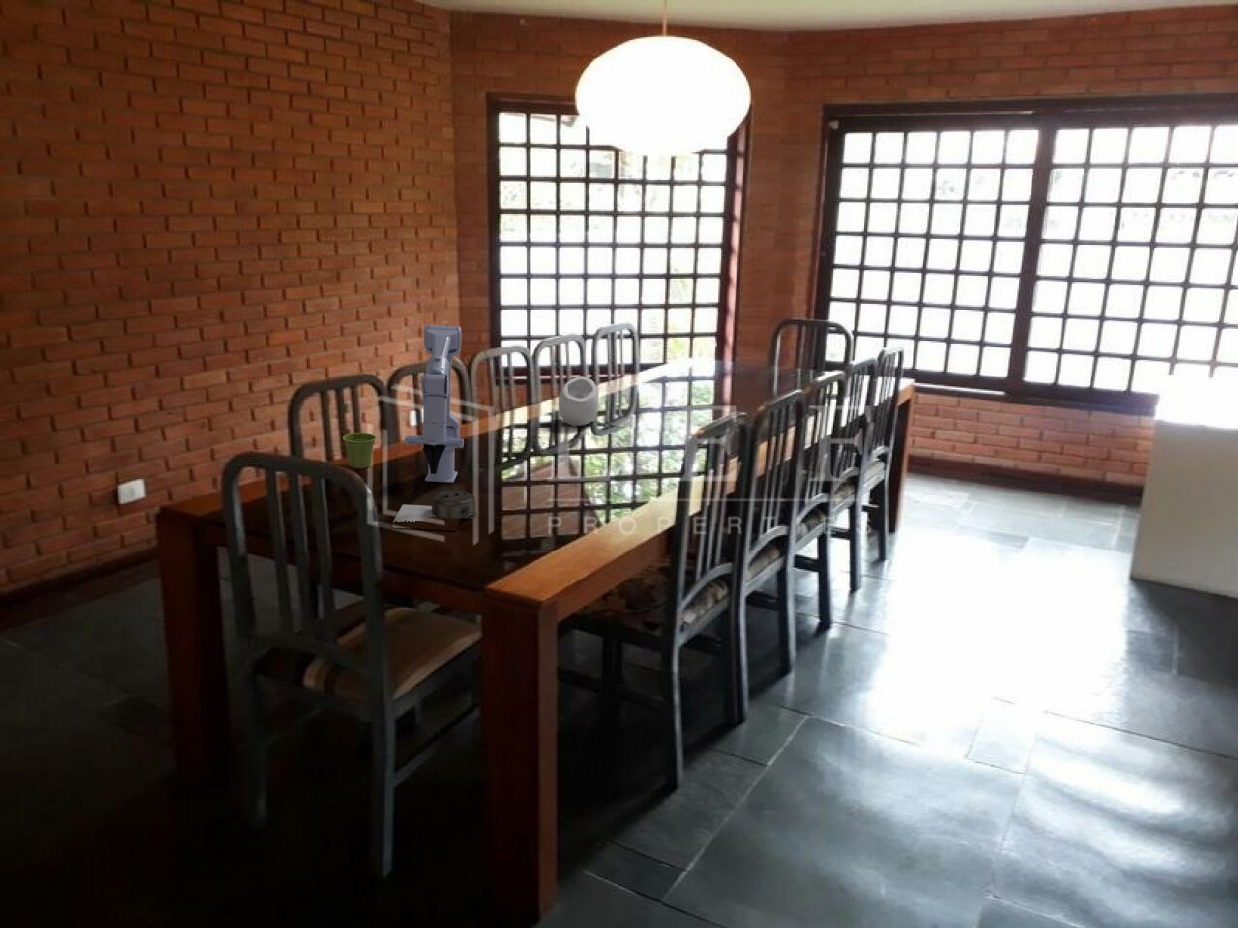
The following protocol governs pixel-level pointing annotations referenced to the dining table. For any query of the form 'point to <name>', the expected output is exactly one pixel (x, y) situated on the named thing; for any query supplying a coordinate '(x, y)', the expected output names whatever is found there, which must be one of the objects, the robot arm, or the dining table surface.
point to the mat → (414, 513)
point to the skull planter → (578, 401)
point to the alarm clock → (453, 504)
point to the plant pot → (359, 449)
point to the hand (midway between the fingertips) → (434, 472)
